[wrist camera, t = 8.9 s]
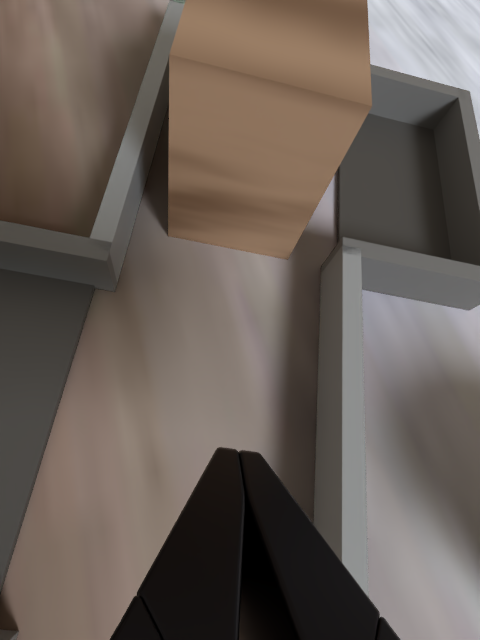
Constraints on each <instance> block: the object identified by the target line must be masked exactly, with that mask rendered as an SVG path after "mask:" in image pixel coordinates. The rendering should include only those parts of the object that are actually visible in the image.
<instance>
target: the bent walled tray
mask: <svg viewBox="0 0 480 640" xmlns="http://www.w3.org/2000/svg"><path fill="white" fill-rule="evenodd" d="M185 1H186V0H170V1H169V4H168V7H167V10H166V13H165V16H164V19H163V22H162V25H161V28H160V31H159V34H158V37H157V40H156V43H155V46H154V48H153V51H152V54H151V57H150V60H149V63H148V66H147V69H146V72H145V75H144V78H143V81H142V84H141V87H140V90H139V93H138V96H137V99H136V102H135V105H134V108H133V111H132V114H131V117H130V120H129V123H128V126H127V128H126V131H125V134H124V137H123V140H122V143H121V146H120V149H119V152H118V155H117V158H116V161H115V164H114V167H113V170H112V173H111V176H110V179H109V182H108V185H107V188H106V191H105V194H104V197H103V200H102V203H101V206H100V208H99V211H98V214H97V217H96V220H95V223H94V226H93V229H92V232H91V235H90V238H88V237H83V236H78V235H72V234H67V233H62V232H57V231H52V230H47V229H42V228H37V227H32V226H26V225H21V224H16V223H11V222H6V221H1V220H0V593H1V590H2V587H3V584H4V581H5V577H6V574H7V571H8V568H9V564H10V561H11V558H12V555H13V551H14V548H15V545H16V542H17V539H18V535H19V532H20V529H21V526H22V522H23V519H24V516H25V513H26V509H27V506H28V503H29V500H30V497H31V493H32V490H33V487H34V484H35V480H36V477H37V474H38V471H39V468H40V464H41V461H42V458H43V455H44V451H45V448H46V445H47V442H48V438H49V435H50V432H51V429H52V426H53V422H54V419H55V416H56V413H57V409H58V406H59V403H60V400H61V396H62V393H63V390H64V387H65V384H66V380H67V377H68V374H69V371H70V367H71V364H72V361H73V358H74V354H75V351H76V348H77V345H78V342H79V338H80V335H81V332H82V329H83V325H84V322H85V319H86V316H87V312H88V309H89V306H90V303H91V300H92V296H93V293H94V290H95V288H97V289H102V290H108V291H113V292H115V290H116V286H117V283H118V279H119V276H120V272H121V269H122V265H123V262H124V258H125V255H126V251H127V248H128V244H129V241H130V237H131V234H132V230H133V226H134V223H135V219H136V216H137V212H138V209H139V205H140V202H141V198H142V195H143V191H144V188H145V184H146V181H147V177H148V174H149V170H150V167H151V163H152V159H153V156H154V152H155V149H156V145H157V142H158V138H159V135H160V131H161V128H162V124H163V121H164V117H165V114H166V110H167V107H168V103H169V54H170V50H171V47H172V44H173V41H174V37H175V34H176V31H177V27H178V24H179V21H180V17H181V14H182V11H183V8H184V4H185ZM370 71H371V93H372V107H371V109H370V111H369V113H368V115H367V116H366V118H365V120H364V122H363V124H362V126H361V127H360V129H359V131H358V133H357V135H356V136H355V138H354V140H353V142H352V144H351V145H350V147H349V149H348V151H347V153H346V155H345V156H344V158H343V160H342V162H341V164H340V165H339V167H338V239H337V246H336V247H335V248H334V250H333V251H332V252H331V254H330V255H329V257H328V258H327V259H326V261H325V262H324V263H323V265H322V266H321V289H320V323H319V356H318V390H317V424H316V457H315V491H314V526H315V527H316V528H317V530H318V531H319V532H320V534H321V535H322V536H323V538H324V539H325V540H326V542H327V543H328V544H329V546H330V547H331V548H332V550H333V551H334V552H335V554H336V555H337V556H338V558H339V559H340V560H341V562H342V563H343V564H344V566H345V567H346V568H347V570H348V571H349V572H350V574H351V575H352V576H353V578H354V579H355V580H356V582H357V583H358V584H359V586H360V587H361V588H362V590H363V591H364V592H365V594H366V595H367V596H368V598H369V593H368V547H367V501H366V454H365V408H364V362H363V316H362V289H363V290H368V291H373V292H378V293H383V294H388V295H393V296H398V297H403V298H409V299H414V300H419V301H424V302H429V303H434V304H439V305H444V306H449V307H454V308H460V309H465V310H471V309H473V308H474V307H476V306H478V305H480V139H479V135H478V130H477V125H476V120H475V115H474V110H473V105H472V100H471V96H470V91H467V90H463V89H459V88H455V87H452V86H448V85H444V84H441V83H437V82H433V81H430V80H426V79H422V78H419V77H415V76H411V75H408V74H404V73H400V72H397V71H393V70H389V69H385V68H382V67H378V66H374V65H371V64H370ZM18 632H19V631H12V630H0V640H16V639H17V635H18Z"/></svg>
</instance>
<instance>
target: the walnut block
mask: <svg viewBox="0 0 480 640" xmlns="http://www.w3.org/2000/svg"><path fill="white" fill-rule="evenodd" d="M371 107H372V93H371V71H370V50H369V29H368V8H367V0H186V1H185V4H184V8H183V11H182V14H181V17H180V21H179V24H178V27H177V31H176V34H175V37H174V41H173V44H172V47H171V50H170V54H169V171H168V236H171V237H176V238H181V239H186V240H191V241H196V242H201V243H206V244H211V245H216V246H221V247H226V248H231V249H236V250H241V251H246V252H251V253H256V254H261V255H266V256H272V257H277V258H282V259H287V260H288V258H289V256H290V254H291V253H292V251H293V249H294V247H295V245H296V243H297V242H298V240H299V238H300V236H301V234H302V233H303V231H304V229H305V227H306V225H307V224H308V222H309V220H310V218H311V216H312V214H313V213H314V211H315V209H316V207H317V205H318V204H319V202H320V200H321V198H322V196H323V194H324V193H325V191H326V189H327V187H328V185H329V184H330V182H331V180H332V178H333V176H334V175H335V173H336V171H337V169H338V167H339V165H340V164H341V162H342V160H343V158H344V156H345V155H346V153H347V151H348V149H349V147H350V145H351V144H352V142H353V140H354V138H355V136H356V135H357V133H358V131H359V129H360V127H361V126H362V124H363V122H364V120H365V118H366V116H367V115H368V113H369V111H370V109H371Z"/></svg>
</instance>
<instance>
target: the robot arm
mask: <svg viewBox="0 0 480 640" xmlns="http://www.w3.org/2000/svg"><path fill="white" fill-rule="evenodd" d="M379 616H380V614H379V611H378V610H377V608H376V607H375V606H374V604H373V603H372V602H371V600H370V599H369V598H368V596H367V595H366V594H365V592H364V591H363V590H362V588H361V587H360V586H359V584H358V583H357V582H356V580H355V579H354V578H353V576H352V575H351V574H350V572H349V571H348V570H347V568H346V567H345V566H344V564H343V563H342V562H341V560H340V559H339V558H338V556H337V555H336V554H335V552H334V551H333V550H332V548H331V547H330V546H329V544H328V543H327V542H326V540H325V539H324V538H323V536H322V535H321V534H320V532H319V531H318V530H317V528H316V527H315V526H314V524H313V523H312V522H311V520H310V519H309V518H308V516H307V515H306V514H305V512H304V511H303V510H302V509H301V507H300V506H299V505H298V503H297V502H296V501H295V499H294V498H293V497H292V495H291V494H290V493H289V491H288V490H287V489H286V487H285V486H284V485H283V483H282V482H281V481H280V479H279V478H278V477H277V475H276V474H275V473H274V471H273V470H272V469H271V467H270V466H269V465H268V463H267V462H266V461H265V459H264V458H263V457H262V455H261V454H260V453H258V452H252V451H245V450H241V451H239V452H238V451H237V450H236V449H230V448H223V447H219V448H217V449H216V451H215V452H214V454H213V456H212V458H211V460H210V462H209V463H208V465H207V467H206V469H205V471H204V472H203V474H202V476H201V478H200V480H199V481H198V483H197V485H196V487H195V489H194V490H193V492H192V494H191V496H190V498H189V499H188V501H187V503H186V505H185V507H184V508H183V510H182V512H181V514H180V516H179V517H178V519H177V521H176V523H175V525H174V526H173V528H172V530H171V532H170V534H169V535H168V537H167V539H166V541H165V543H164V545H163V546H162V548H161V550H160V552H159V554H158V555H157V557H156V559H155V561H154V563H153V564H152V566H151V568H150V570H149V572H148V573H147V575H146V577H145V579H144V581H143V582H142V584H141V586H140V588H139V590H138V592H137V596H135V597H134V598H133V600H132V602H131V603H130V605H129V607H128V609H127V611H126V612H125V614H124V616H123V618H122V619H121V621H120V623H119V625H118V626H117V628H116V630H115V631H114V633H113V635H112V636H111V638H110V640H400V638H399V637H398V636H397V634H396V633H395V632H394V631H393V629H392V628H391V627H390V625H389V624H388V623H387V621H386V620H385V619H384V618H383V617H380V618H379Z"/></svg>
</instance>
